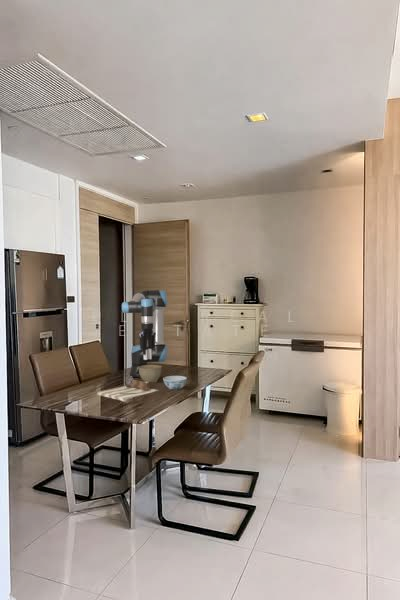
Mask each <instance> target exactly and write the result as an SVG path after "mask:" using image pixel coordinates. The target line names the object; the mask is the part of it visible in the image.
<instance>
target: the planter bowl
mask: <svg viewBox="0 0 400 600" xmlns="http://www.w3.org/2000/svg"><path fill="white" fill-rule="evenodd" d="M138 368H139V374H140V377H141V378H140V379H141V381H144V382H149V383H151V382H152V383H157V382H158V380H159V378H160V376H161V373H162V368H163V367H162V365H157V364H147V365H144V366H139V367H138Z"/></svg>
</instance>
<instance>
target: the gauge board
mask: <svg viewBox="0 0 400 600" xmlns="http://www.w3.org/2000/svg"><path fill="white" fill-rule="evenodd" d="M159 391H160V390H159V389H154V388H150V387H149V390H144V389H139V388H134V387H126V385H122V386H118V387H114V388H109V389H105V390H101V391H97V392H96V395H97V396H101V397H105V398H109V399H113V400H117V401H121V402H130V401H133V399H132V398H135V397H136V398H137V397H141V396H143V395H147V394H152V393H154V392H159Z"/></svg>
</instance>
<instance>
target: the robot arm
mask: <svg viewBox="0 0 400 600" xmlns="http://www.w3.org/2000/svg"><path fill="white" fill-rule="evenodd" d="M168 301H169V300H168V295H167V291H166V290H162V289H153V290H149V289H147V290H142V291H139V292H136V293H135V294H134V295H133V297H132V298H131V299H130V300H129V301H123V302H122V303H121V311H122V313H123V314H141V317H140V318H141V321H140V322H141V328H140V329H142V330H141V332H140V333H138V337H139V344H137V345H133V346H132V347H131V357H130V358H131V367H130V370H129V374H128V376H129V375H130V376H132V377H140V374H139V368H138V367H139V366H144V365H148V363H164V362H166V361H167V357H168V346H166V343H165V342H164V327H165V325H164V319H165V318H164V316H165V315H164V314H165V313H164V311H165V309H166V307H167V306H168V305H169V304H168Z"/></svg>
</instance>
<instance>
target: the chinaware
mask: <svg viewBox="0 0 400 600" xmlns="http://www.w3.org/2000/svg"><path fill="white" fill-rule="evenodd" d="M162 379H163V384H164V385H165V387H166V388H167V389H169V390H179V389H180V390H181V389H182V388H183V387H185V384H186V382H187V379H188V378H187V376H183V375H169V376H168V375H167V376H164V377H163V378H162Z"/></svg>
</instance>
